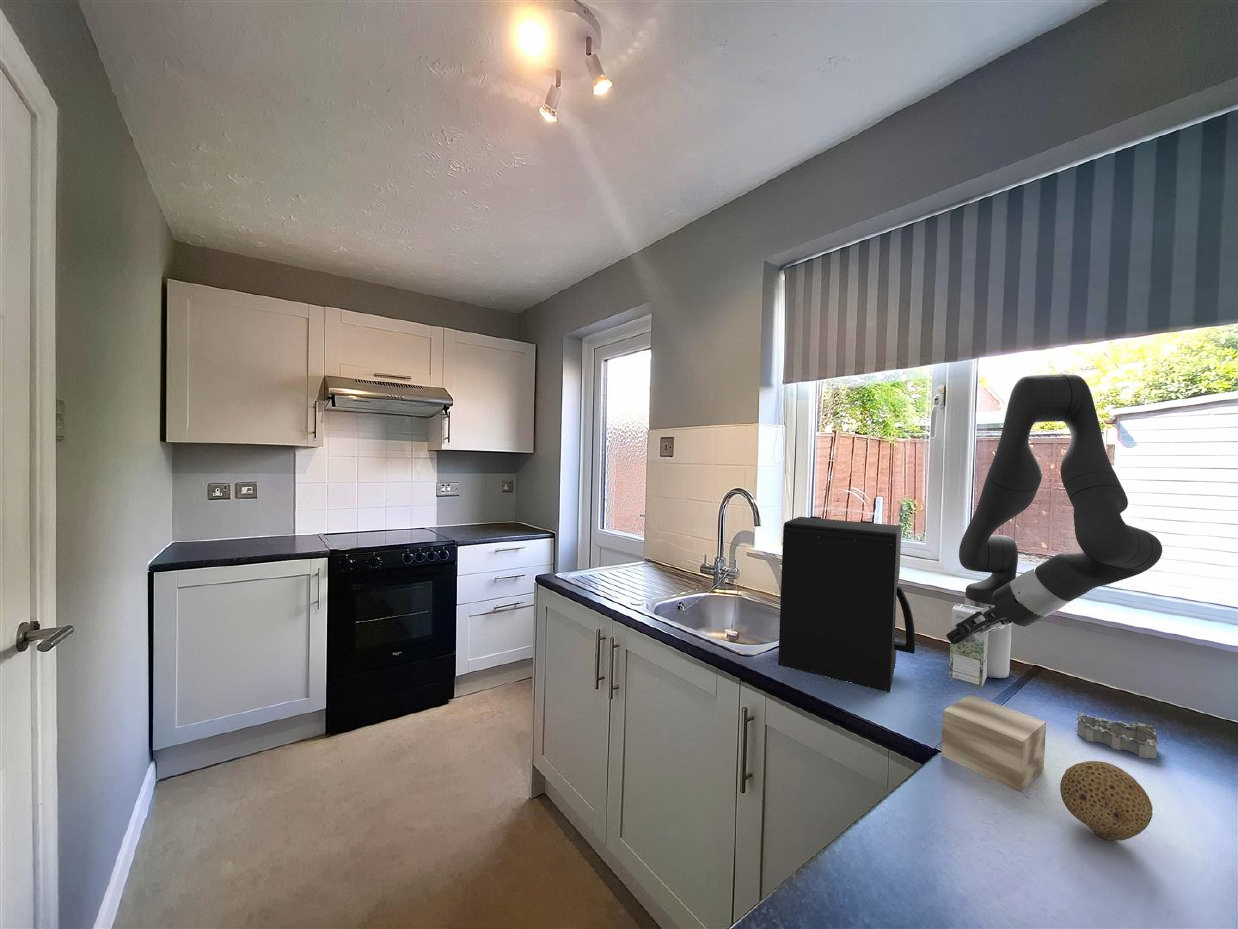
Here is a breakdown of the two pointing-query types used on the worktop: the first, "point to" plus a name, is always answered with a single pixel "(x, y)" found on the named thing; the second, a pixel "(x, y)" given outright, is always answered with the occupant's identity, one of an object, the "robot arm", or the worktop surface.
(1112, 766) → the natural sponge
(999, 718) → the wooden block
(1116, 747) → the egg carton
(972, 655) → the syrup box
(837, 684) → the worktop surface
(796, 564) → the coffee maker
